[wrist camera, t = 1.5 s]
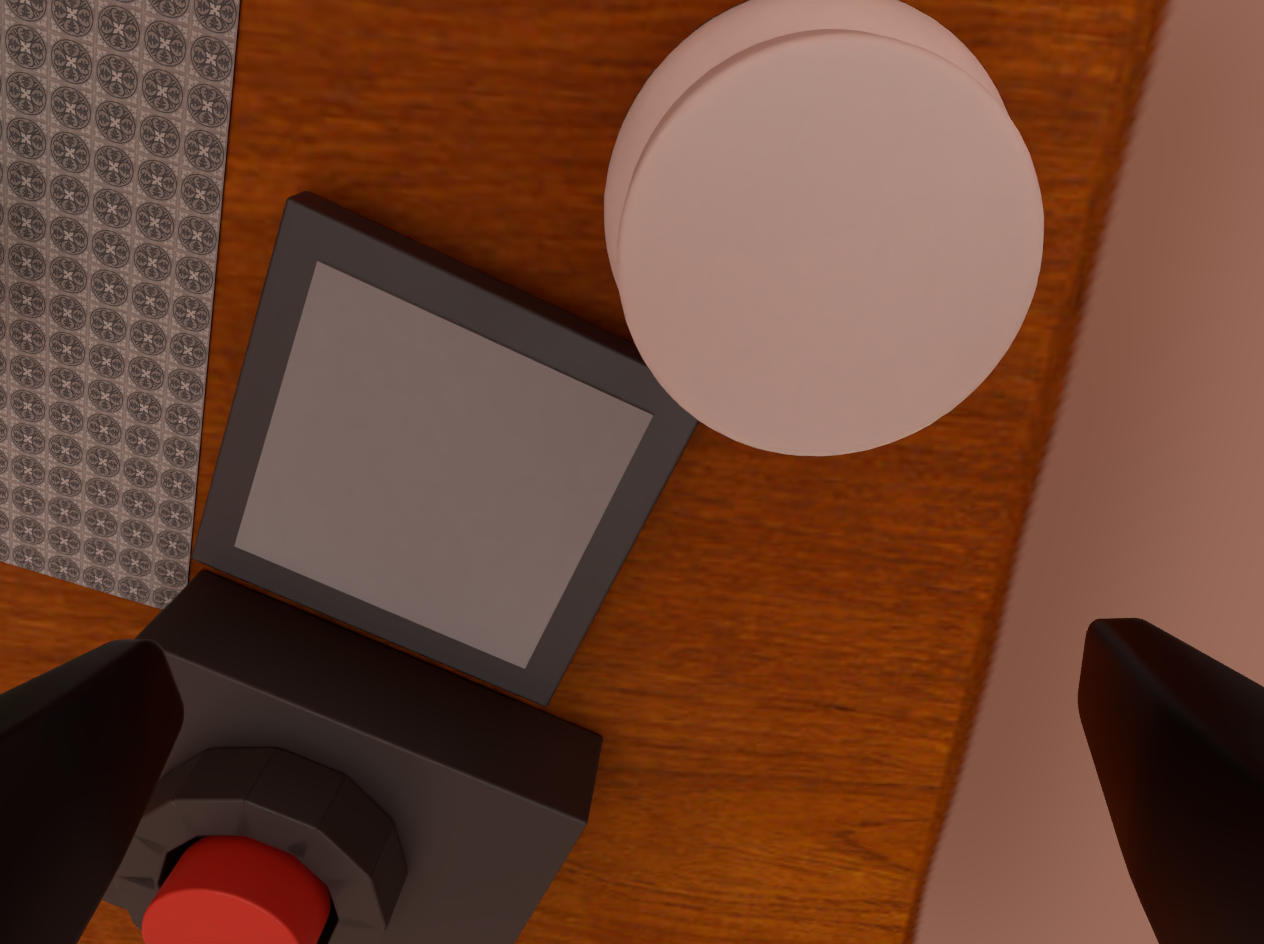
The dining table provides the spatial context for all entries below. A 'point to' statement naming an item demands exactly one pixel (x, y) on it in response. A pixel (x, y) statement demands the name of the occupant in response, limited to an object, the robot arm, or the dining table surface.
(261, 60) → the dining table surface
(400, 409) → the tray
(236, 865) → the button
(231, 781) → the red arcade button box
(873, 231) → the pill bottle
